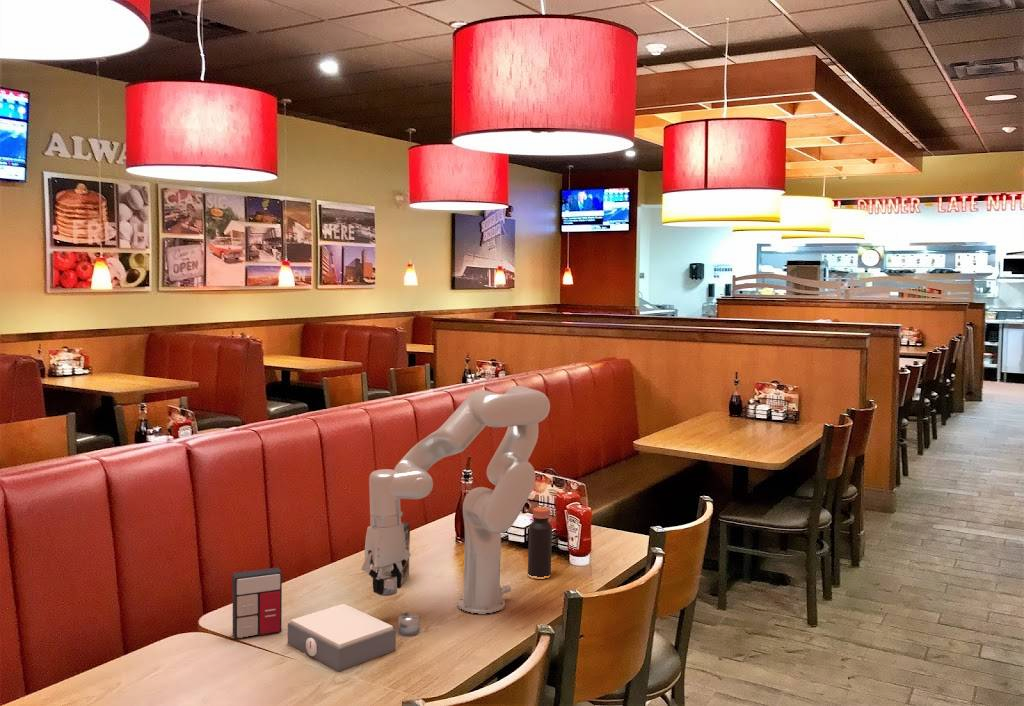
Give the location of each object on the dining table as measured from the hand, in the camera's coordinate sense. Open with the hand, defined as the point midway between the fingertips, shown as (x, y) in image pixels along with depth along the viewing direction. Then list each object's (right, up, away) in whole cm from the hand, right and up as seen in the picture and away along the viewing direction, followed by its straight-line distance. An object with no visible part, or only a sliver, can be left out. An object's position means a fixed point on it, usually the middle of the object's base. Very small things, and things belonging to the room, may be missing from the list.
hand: (387, 589), depth 219 cm
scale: (-8, -9, -16) cm, 20 cm away
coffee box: (-2, -6, +28) cm, 29 cm away
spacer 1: (0, -1, 0) cm, 1 cm away
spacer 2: (+6, -9, -7) cm, 13 cm away
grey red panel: (-30, -8, -10) cm, 33 cm away
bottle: (+39, -6, +36) cm, 54 cm away
